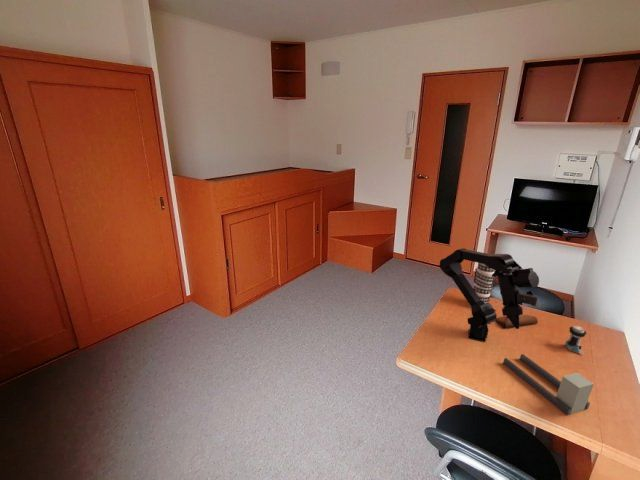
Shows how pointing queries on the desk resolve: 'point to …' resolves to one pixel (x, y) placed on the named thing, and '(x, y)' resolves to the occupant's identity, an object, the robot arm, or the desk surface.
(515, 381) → the desk surface
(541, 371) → the steel chute
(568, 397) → the block
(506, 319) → the sunglasses case
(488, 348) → the desk surface
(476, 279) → the decorative candle
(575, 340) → the push button
